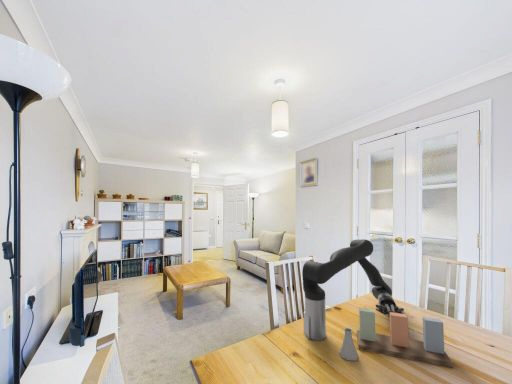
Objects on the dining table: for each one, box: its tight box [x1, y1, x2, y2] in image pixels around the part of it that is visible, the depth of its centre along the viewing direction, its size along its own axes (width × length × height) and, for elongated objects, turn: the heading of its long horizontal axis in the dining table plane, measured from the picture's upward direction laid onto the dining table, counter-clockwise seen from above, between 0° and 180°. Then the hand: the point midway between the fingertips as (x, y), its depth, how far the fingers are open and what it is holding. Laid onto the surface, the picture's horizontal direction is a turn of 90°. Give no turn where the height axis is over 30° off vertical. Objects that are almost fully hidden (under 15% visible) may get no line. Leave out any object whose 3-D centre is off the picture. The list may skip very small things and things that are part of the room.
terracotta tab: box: [389, 312, 409, 348], centre depth 98 cm, size 6×3×12 cm, turn 70°
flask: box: [338, 327, 359, 362], centre depth 94 cm, size 7×7×10 cm
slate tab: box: [422, 316, 445, 354], centre depth 94 cm, size 6×3×12 cm, turn 70°
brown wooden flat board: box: [356, 329, 454, 369], centre depth 98 cm, size 32×12×2 cm, turn 70°
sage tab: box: [358, 307, 376, 342], centre depth 102 cm, size 6×3×12 cm, turn 70°
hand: (393, 317), depth 108 cm, fingers closed
